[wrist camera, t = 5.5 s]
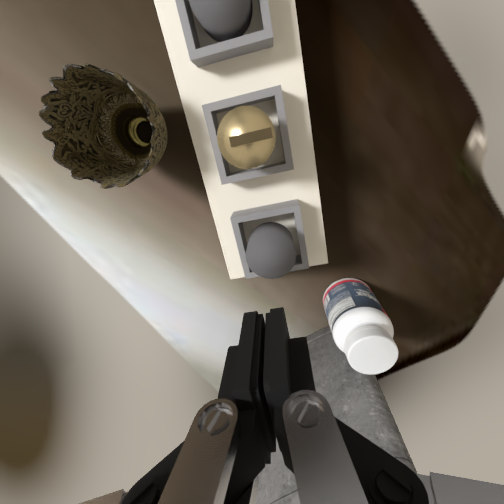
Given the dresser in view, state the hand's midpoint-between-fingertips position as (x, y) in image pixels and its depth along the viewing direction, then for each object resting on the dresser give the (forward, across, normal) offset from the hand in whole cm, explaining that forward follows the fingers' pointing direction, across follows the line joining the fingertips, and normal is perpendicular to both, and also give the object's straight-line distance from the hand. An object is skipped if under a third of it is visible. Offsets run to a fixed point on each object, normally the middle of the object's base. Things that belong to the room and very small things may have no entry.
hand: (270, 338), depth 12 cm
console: (+17, 0, -8) cm, 19 cm away
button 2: (+13, 0, -16) cm, 21 cm away
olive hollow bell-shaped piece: (+18, +10, -11) cm, 23 cm away
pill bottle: (+18, -6, +10) cm, 21 cm away
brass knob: (+11, 0, -8) cm, 14 cm away
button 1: (+11, 0, 0) cm, 11 cm away
